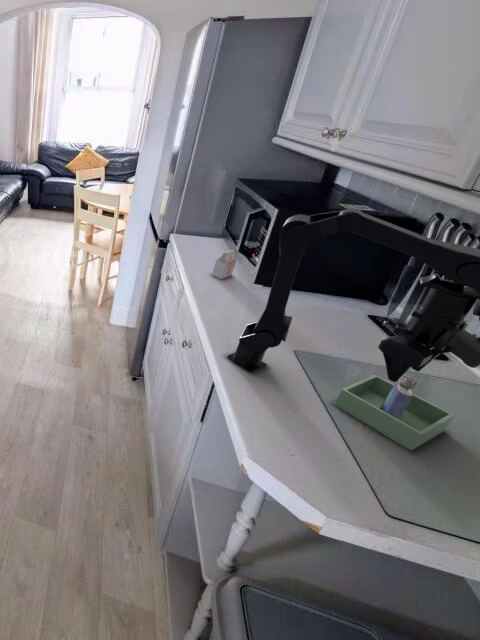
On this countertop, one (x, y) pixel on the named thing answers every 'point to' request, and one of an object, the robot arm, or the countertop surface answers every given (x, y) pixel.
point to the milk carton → (224, 265)
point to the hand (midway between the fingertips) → (403, 375)
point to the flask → (399, 396)
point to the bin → (410, 428)
